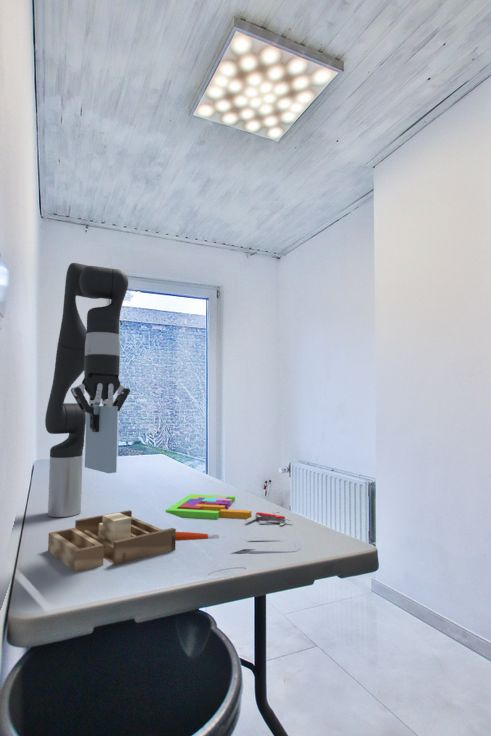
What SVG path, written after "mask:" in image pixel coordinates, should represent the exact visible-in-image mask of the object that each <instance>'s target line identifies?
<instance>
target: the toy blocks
mask: <svg viewBox="0 0 491 736" xmlns="http://www.w3.org/2000/svg"><path fill="white" fill-rule="evenodd" d="M234 501H235V502H236V496H235V495H218V494H202V493H201V494H198V493H197V494H196V493H190V494H188V495H187V496H185V497H184V498H182V499H181V500H179V501H178V502H176V503H174V504H173V505H171V506H169V507H168V508H167V509H165V513H166V514H170V515H174V516H175V517H179V518H188V519H205V520H206V519H207V520H218V519H220V518H223V519H224V518H228V519H244V520H246V519H248V518H251V517H252V510H246V509H245V510H241V509H229V507H231V506H232V505H233V503H232V502H234ZM235 502H234V503H235Z"/></svg>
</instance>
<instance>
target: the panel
mask: <svg viewBox="0 0 491 736" xmlns="http://www.w3.org/2000/svg"><path fill="white" fill-rule="evenodd" d="M118 413H119V411H118V406H103V405H101V406H100V405H99V413H98V415H99V432H92V429H90V415H89V413H86V424H85V436H84V447H85V448H84V468H86V469H91V470H94V471H98V472H101V473H105V474H113V473H114V474H115V473H117V468H118V467H117V462H118V461H117V456H118Z"/></svg>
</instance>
